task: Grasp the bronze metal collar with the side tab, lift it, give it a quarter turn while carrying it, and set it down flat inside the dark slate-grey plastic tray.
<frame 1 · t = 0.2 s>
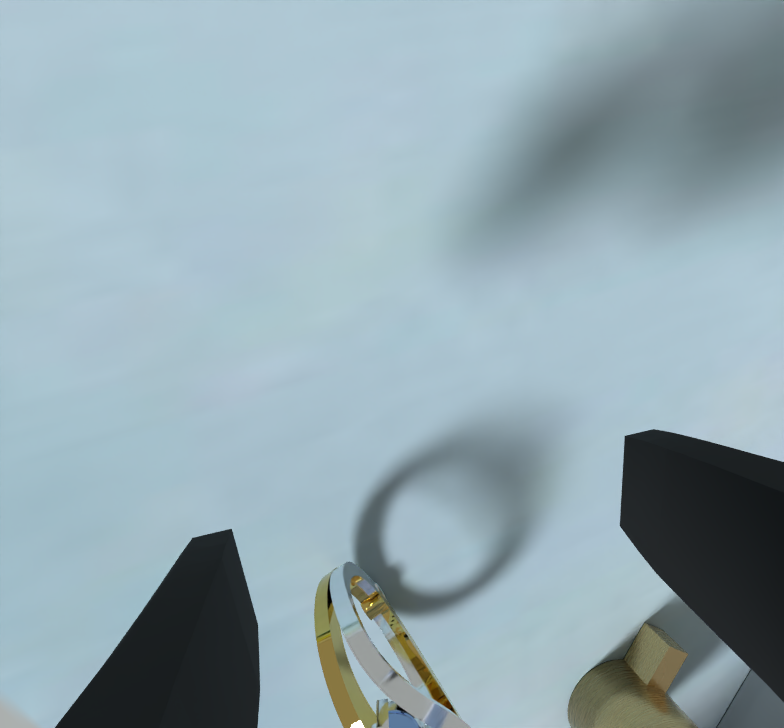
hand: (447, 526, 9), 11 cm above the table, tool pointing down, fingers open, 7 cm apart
ring: (370, 589, 21), on the table
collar: (610, 701, 24), on the table
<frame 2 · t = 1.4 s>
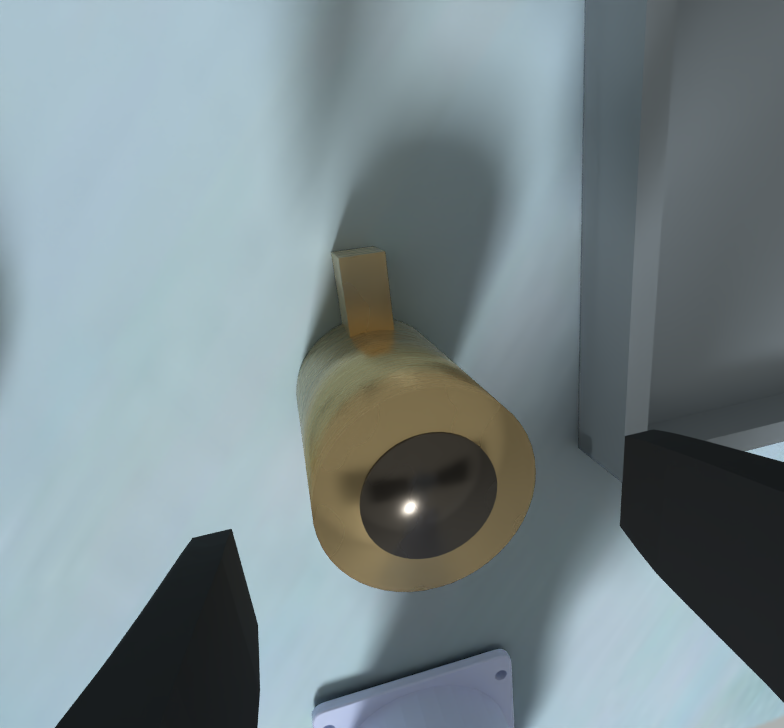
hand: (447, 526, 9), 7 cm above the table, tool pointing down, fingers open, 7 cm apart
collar: (371, 389, 15), on the table
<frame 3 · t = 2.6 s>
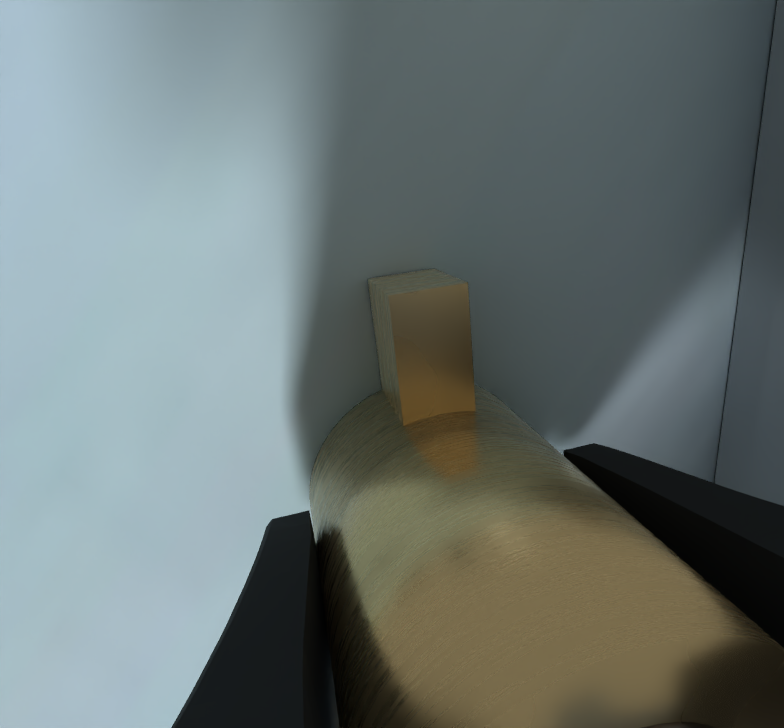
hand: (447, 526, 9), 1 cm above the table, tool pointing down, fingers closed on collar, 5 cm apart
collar: (423, 483, 10), on the table, touching gripper
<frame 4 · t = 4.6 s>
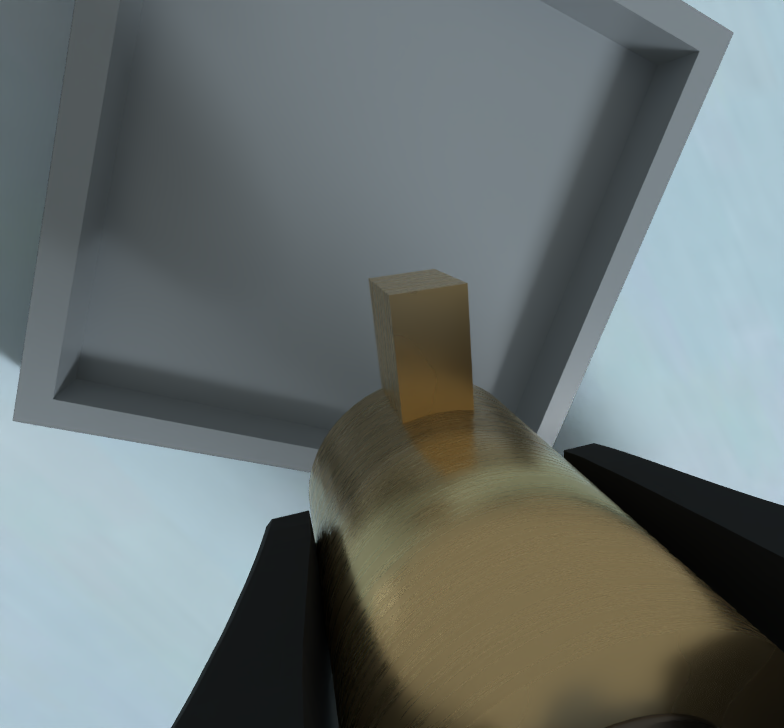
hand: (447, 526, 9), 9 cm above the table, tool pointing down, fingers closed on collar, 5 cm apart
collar: (421, 481, 10), point 7 cm above the table, touching gripper
tray: (372, 215, 15), on the table
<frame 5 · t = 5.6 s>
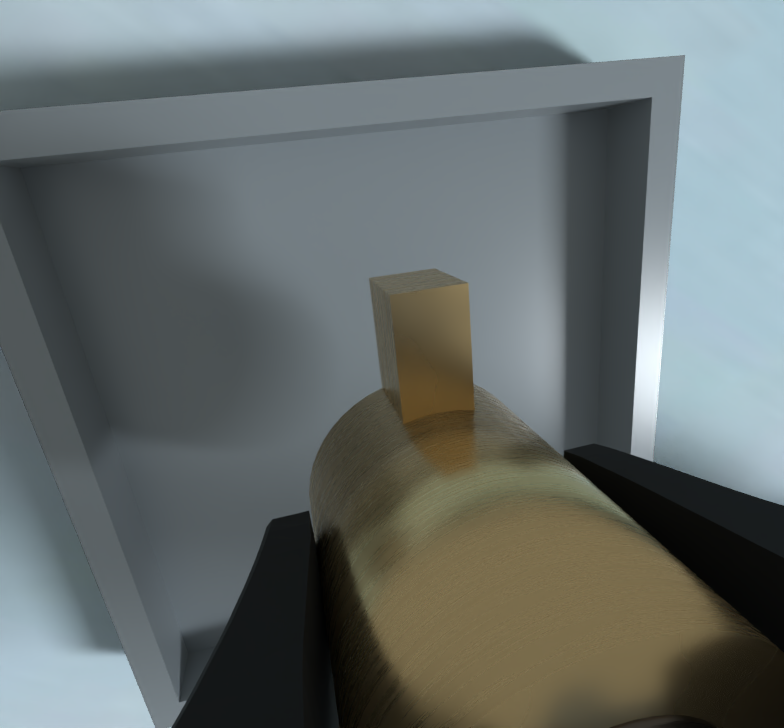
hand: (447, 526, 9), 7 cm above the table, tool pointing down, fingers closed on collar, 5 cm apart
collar: (422, 481, 10), point 5 cm above the table, touching gripper
tray: (375, 393, 15), on the table
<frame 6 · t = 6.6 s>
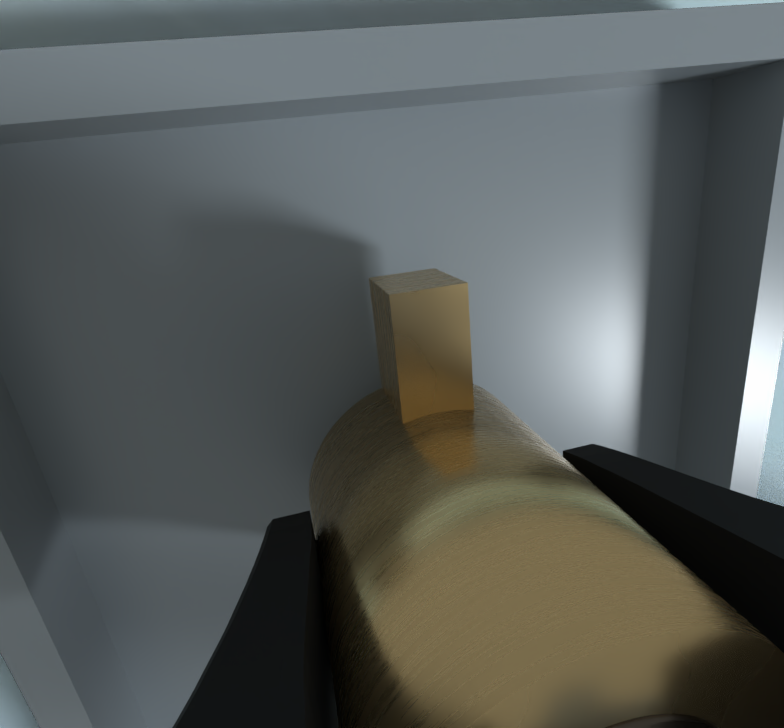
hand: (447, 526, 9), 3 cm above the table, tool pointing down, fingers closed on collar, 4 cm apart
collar: (421, 481, 10), point 2 cm above the table, touching gripper
tray: (401, 443, 12), on the table
when the fingers open (3 cm above the table, at t = 6.6 s): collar stays where it is, resting on tray.
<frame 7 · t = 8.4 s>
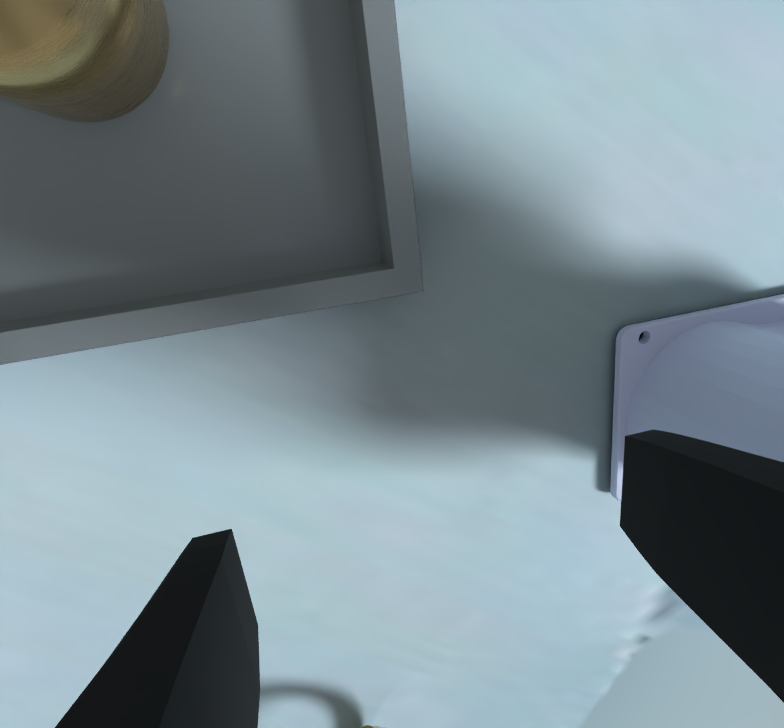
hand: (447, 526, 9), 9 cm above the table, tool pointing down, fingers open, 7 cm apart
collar: (66, 17, 12), point 1 cm above the table, touching tray
tray: (77, 27, 13), on the table
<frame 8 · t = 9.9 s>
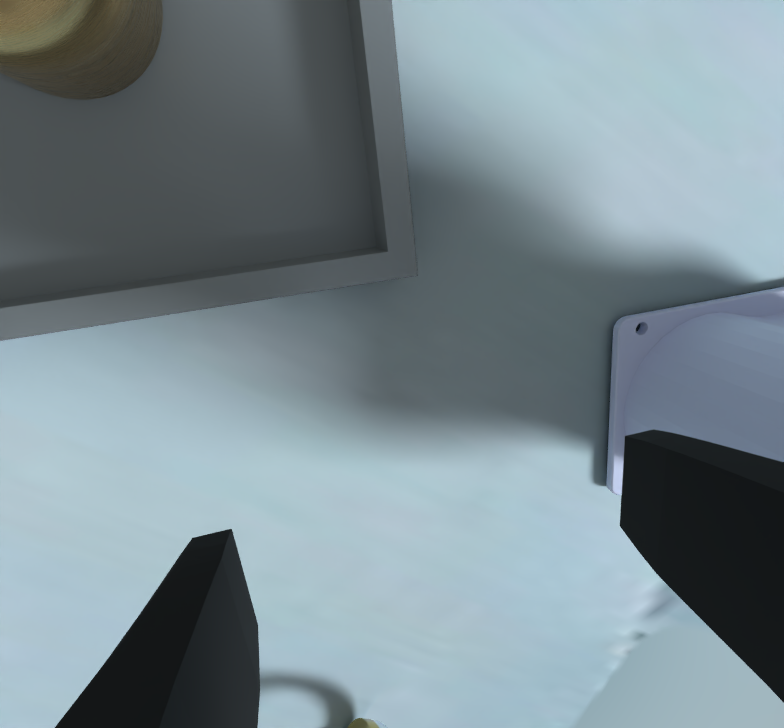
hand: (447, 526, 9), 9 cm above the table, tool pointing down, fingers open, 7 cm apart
tray: (70, 4, 13), on the table
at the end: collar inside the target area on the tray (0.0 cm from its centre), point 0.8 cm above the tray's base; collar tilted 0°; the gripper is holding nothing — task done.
